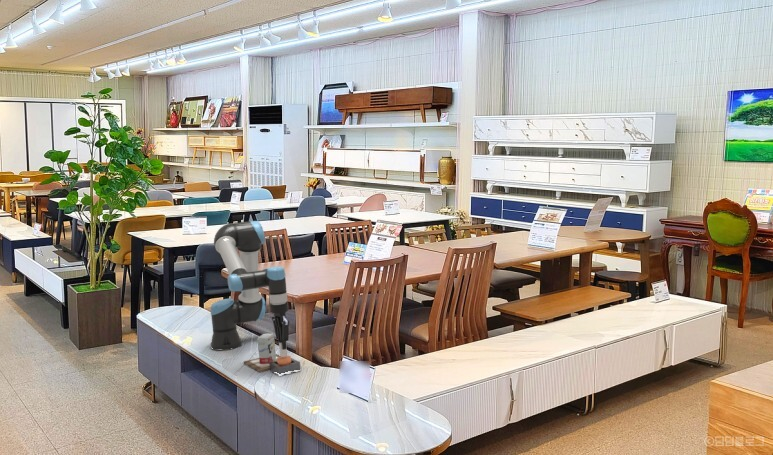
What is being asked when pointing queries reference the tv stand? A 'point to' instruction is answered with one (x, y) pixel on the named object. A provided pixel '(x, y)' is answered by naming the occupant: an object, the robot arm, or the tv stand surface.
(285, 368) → the button housing
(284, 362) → the button cap
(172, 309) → the tv stand surface
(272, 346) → the ink box
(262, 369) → the wooden picture frame
